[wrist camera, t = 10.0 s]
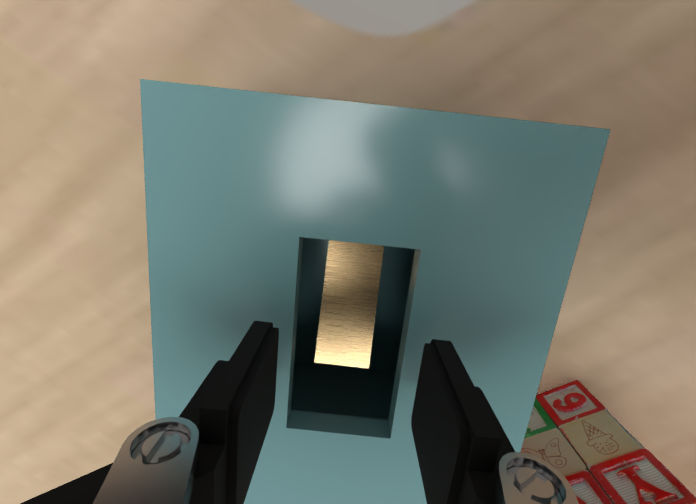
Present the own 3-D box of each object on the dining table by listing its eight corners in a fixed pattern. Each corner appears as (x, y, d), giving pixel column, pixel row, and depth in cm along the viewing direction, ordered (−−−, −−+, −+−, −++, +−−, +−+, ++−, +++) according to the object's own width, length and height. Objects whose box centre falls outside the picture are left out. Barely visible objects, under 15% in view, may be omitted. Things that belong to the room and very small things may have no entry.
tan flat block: (361, 339, 21) (375, 222, 21) (368, 368, 16) (387, 215, 16) (319, 334, 21) (333, 217, 21) (314, 362, 16) (333, 208, 16)
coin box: (488, 143, 20) (610, 129, 10) (440, 385, 24) (496, 535, 15) (244, 117, 20) (140, 79, 10) (238, 364, 24) (159, 501, 15)
